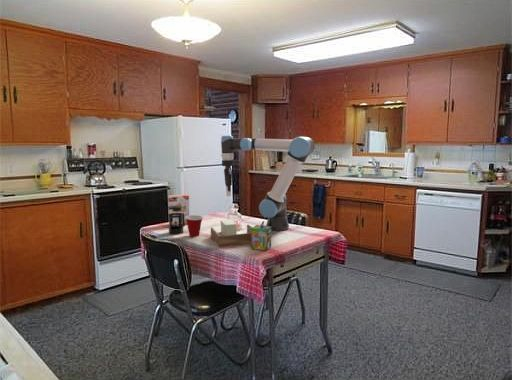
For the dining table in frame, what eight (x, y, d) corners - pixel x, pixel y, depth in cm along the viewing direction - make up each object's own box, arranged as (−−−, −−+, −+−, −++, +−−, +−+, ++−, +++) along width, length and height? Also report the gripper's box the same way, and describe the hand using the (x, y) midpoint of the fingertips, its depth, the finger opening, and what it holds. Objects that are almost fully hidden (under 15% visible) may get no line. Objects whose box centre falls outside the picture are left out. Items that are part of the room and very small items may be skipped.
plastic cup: (196, 238, 219) (195, 219, 217) (182, 236, 224) (181, 217, 222) (207, 234, 228) (206, 215, 226) (193, 232, 233) (192, 214, 232)
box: (210, 237, 221) (210, 227, 220) (248, 233, 229) (248, 224, 228) (219, 247, 201) (219, 236, 200) (260, 242, 209) (260, 232, 208)
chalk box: (255, 244, 205) (255, 219, 203) (271, 246, 202) (271, 219, 200) (250, 249, 196) (250, 222, 194) (267, 251, 193) (267, 223, 191)
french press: (173, 235, 227) (172, 199, 224) (164, 233, 233) (163, 197, 230) (188, 231, 236) (187, 196, 232) (179, 229, 242) (178, 195, 238)
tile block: (221, 232, 234) (220, 220, 233) (231, 231, 236) (231, 219, 235) (225, 237, 221) (224, 224, 220) (236, 236, 223) (236, 224, 222)
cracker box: (169, 226, 251) (168, 196, 249) (169, 224, 257) (168, 195, 254) (190, 225, 255) (189, 195, 252) (189, 223, 260) (188, 194, 258)
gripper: (219, 159, 240) (220, 195, 243) (224, 160, 228) (225, 197, 231) (230, 159, 243) (231, 194, 246) (235, 159, 230) (237, 196, 233)
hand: (228, 195), depth 238 cm, fingers closed
